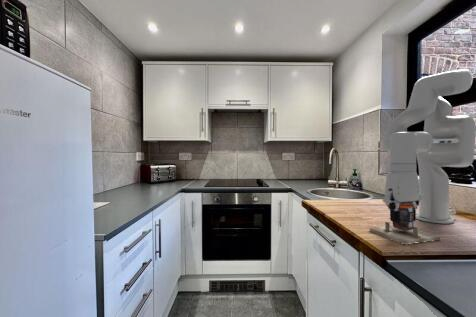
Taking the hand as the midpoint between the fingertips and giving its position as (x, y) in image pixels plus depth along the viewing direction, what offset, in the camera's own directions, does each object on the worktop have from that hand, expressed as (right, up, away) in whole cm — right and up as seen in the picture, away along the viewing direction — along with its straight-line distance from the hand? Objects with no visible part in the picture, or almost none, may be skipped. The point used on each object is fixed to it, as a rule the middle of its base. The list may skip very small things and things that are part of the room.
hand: (402, 220), depth 82 cm
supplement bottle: (0, -3, 0) cm, 3 cm away
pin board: (0, -5, 0) cm, 5 cm away
